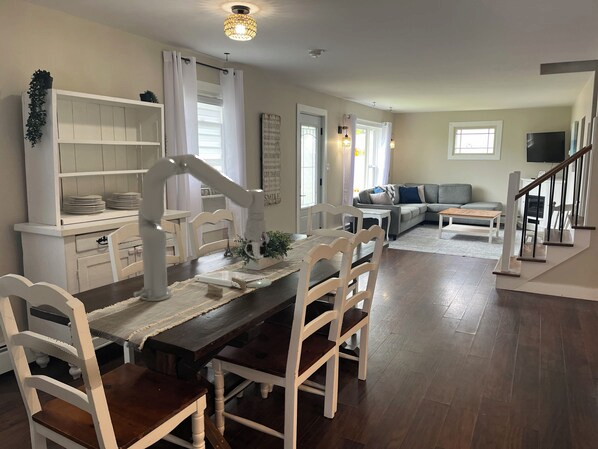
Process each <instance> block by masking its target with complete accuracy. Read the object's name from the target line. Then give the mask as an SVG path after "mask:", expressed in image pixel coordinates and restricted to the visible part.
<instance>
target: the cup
mask: <svg viewBox="0 0 598 449" xmlns="http://www.w3.org/2000/svg"><path fill="white" fill-rule="evenodd" d="M251 242H252V243H248V244H252V248H253V251H252V253H253V255H251V254H250V253H249V252H247V245H248V244H247V243H246V244H245V248H244V250H245V253H246V254H247V255H248V256H249V257H250V258H252V259H255V260H262V259H264V255H260V246H261V245H260V243H259V242H256V241H251ZM262 243H263V241H262Z"/></svg>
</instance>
